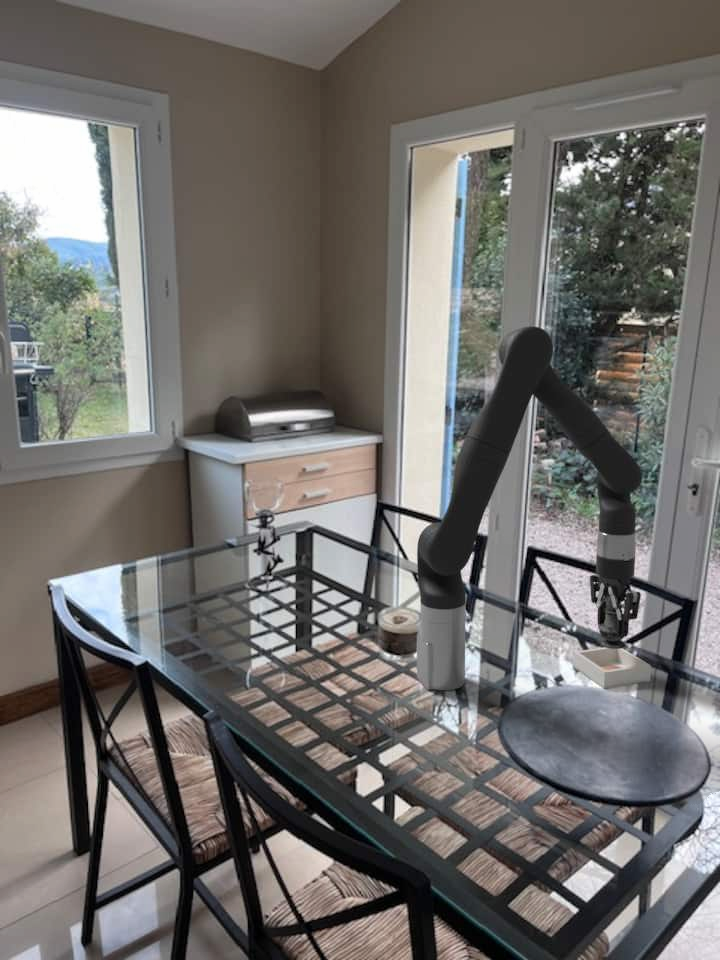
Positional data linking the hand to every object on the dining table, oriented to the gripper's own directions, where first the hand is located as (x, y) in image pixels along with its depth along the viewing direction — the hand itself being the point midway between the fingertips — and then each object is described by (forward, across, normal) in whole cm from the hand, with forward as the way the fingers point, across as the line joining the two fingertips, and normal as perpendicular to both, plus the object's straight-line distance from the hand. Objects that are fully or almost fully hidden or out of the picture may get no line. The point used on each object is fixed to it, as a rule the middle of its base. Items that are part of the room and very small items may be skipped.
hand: (612, 630), depth 150 cm
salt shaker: (+3, 0, 0) cm, 3 cm away
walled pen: (+10, 0, 0) cm, 10 cm away
